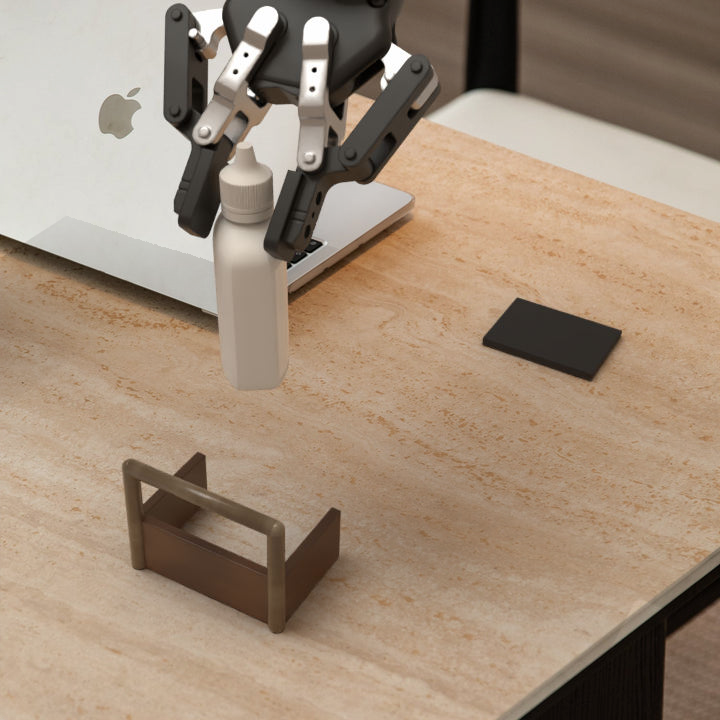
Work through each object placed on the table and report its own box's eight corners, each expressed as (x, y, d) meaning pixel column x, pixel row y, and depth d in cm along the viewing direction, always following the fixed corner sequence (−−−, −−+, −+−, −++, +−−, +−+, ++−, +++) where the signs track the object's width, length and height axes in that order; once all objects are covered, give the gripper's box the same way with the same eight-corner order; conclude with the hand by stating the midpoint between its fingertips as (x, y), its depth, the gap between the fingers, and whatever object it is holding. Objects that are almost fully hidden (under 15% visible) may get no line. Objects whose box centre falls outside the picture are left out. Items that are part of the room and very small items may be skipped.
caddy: (128, 565, 68) (117, 462, 63) (197, 495, 72) (192, 395, 68) (279, 635, 64) (278, 531, 60) (342, 557, 69) (345, 455, 64)
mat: (481, 344, 86) (482, 337, 85) (516, 303, 90) (517, 296, 90) (590, 381, 83) (592, 374, 82) (621, 337, 87) (622, 330, 87)
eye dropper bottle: (318, 341, 64) (315, 128, 57) (269, 404, 60) (259, 182, 53) (242, 321, 65) (230, 111, 58) (189, 381, 61) (169, 162, 54)
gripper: (189, -169, 57) (61, 182, 55) (483, -122, 52) (354, 261, 50) (247, -82, 64) (135, 231, 62) (509, -34, 59) (397, 304, 58)
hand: (234, 242), depth 56 cm, fingers closed on eye dropper bottle, 3 cm apart
